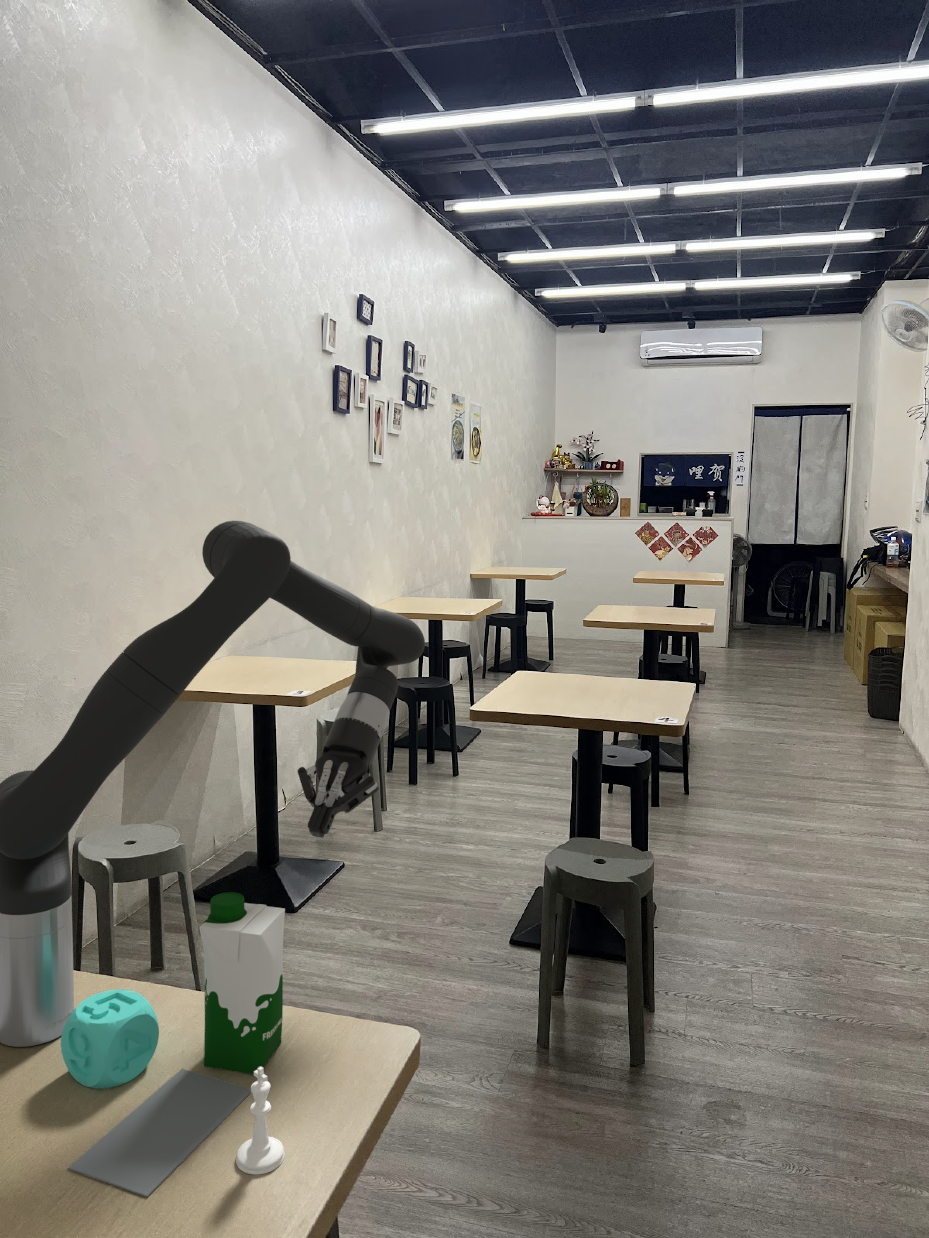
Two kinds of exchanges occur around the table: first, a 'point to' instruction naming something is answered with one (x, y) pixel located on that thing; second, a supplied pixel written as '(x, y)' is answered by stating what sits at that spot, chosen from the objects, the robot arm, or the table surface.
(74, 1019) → the decorative dice
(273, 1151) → the chess piece
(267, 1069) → the table surface
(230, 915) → the soya milk
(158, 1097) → the mat
